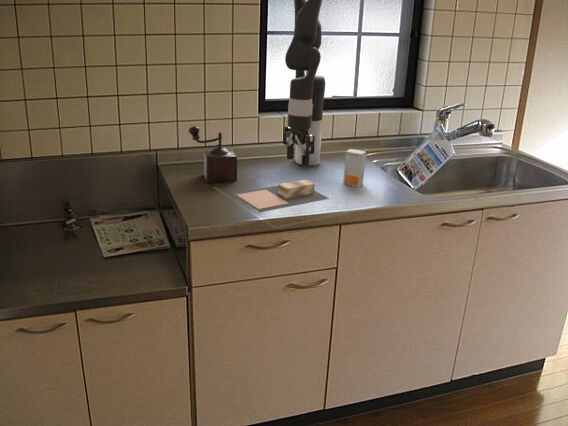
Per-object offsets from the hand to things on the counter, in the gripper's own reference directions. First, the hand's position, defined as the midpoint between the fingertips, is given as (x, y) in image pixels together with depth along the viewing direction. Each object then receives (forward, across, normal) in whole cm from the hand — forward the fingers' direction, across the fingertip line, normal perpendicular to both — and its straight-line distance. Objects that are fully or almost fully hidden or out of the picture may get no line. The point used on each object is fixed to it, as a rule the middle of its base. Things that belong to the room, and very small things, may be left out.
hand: (297, 162), depth 195 cm
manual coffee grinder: (+11, -27, -17) cm, 34 cm away
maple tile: (+11, 0, 0) cm, 11 cm away
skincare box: (+11, 0, +24) cm, 27 cm away
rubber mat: (+11, 0, -6) cm, 13 cm away
